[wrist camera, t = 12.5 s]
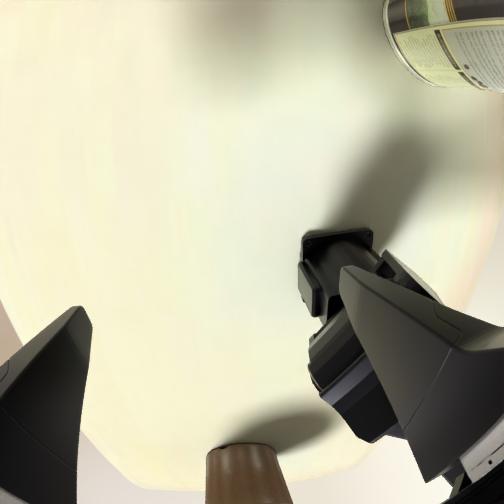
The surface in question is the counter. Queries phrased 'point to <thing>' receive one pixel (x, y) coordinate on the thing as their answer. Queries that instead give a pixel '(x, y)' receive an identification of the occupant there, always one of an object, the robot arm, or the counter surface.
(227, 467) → the plant pot
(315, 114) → the counter surface
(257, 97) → the counter surface
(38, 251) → the counter surface
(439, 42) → the coffee can
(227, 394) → the counter surface
